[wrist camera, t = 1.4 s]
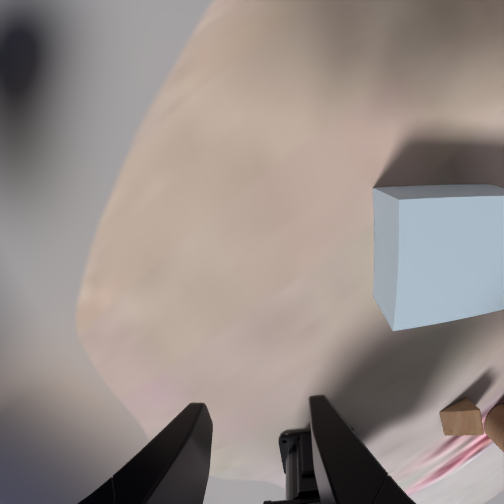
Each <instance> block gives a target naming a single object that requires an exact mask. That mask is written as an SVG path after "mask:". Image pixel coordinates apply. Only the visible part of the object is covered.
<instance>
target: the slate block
mask: <svg viewBox="0 0 504 504" xmlns="http://www.w3.org/2000/svg"><path fill="white" fill-rule="evenodd" d="M373 206H374V286H373V297H374V299H375V301H376V302H377V304H378V306H379V308H380V309H381V311H382V313H383V315H384V316H385V318H386V320H387V322H388V323H389V325H390V327H391V329H392V330H393V331H398V330H404V329H410V328H416V327H422V326H428V325H433V324H438V323H444V322H449V321H454V320H459V319H464V318H468V317H473V316H477V315H482V314H486V313H491V312H495V311H499V310H503V309H504V188H502V187H498V186H495V185H491V184H464V185H423V186H397V187H377V188H373Z"/></svg>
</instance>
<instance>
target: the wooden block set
mask: <svg viewBox="0 0 504 504" xmlns="http://www.w3.org/2000/svg"><path fill="white" fill-rule="evenodd" d="M439 413H440V417H441V421H442V426H443V430H444V435H483V434H484V433H483V426H482V419H481V413H480V409H479V408H478V407H476V406H475V405H474V404H473V403H472V402H471V401H469V400H468V399H467V398H465V399H463V400H461V401H459V402H457V403H455V404H454V405H452V406H450V407H448V408H446V409H444V410H442V411H440V412H439ZM484 430H485V433H486V435H487V436H488V437H489V438H490V439H491V440H492V441H493V442H494V443H495V444H496V445H497V446H498V447H499V448H500V449H501V450H502V451H503V452H504V403H503V404H499V405H497V406H495V407H494V408H493V409H492V410H491V411H490V412H489V413H488V415H487V417H486V420H485V423H484Z"/></svg>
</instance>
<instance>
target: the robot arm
mask: <svg viewBox="0 0 504 504" xmlns="http://www.w3.org/2000/svg"><path fill="white" fill-rule="evenodd" d="M309 410H310V423H311V432H310V433H301V434H290V435H282V436H280V437H279V447H280V452H281V458H282V463H283V469H284V473H285V474H286V500H284V501H264V503H263V504H416V503H415V502H414V501H413V500H412V499H411V498H409V497H408V495H407V494H406V493H405V492H404V491H403V490H402V489H401V488H400V487H399V486H398V485H397V483H396V482H395V481H394V480H393V479H392V477H391V476H388V473H387V472H386V470H385V469H384V468H383V467H382V466H381V464H380V463H379V462H378V461H377V460H376V458H375V457H374V456H373V455H372V454H371V452H370V451H369V450H368V449H367V447H366V446H365V445H364V444H363V443H362V441H361V440H360V439H359V438H358V436H357V435H356V434H355V433H354V430H353V428H351V427H350V426H349V425H348V424H347V423H346V421H345V420H344V419H343V418H342V416H341V415H340V414H339V413H338V411H337V410H336V409H335V408H334V406H333V405H332V404H331V403H330V401H329V400H328V399H327V398H326V396H325V395H314V396H310V397H309ZM212 432H213V424H212V420H211V417H210V414H209V412H208V409H207V406H206V405H205V403H190V404H189V405H188V406H187V407H186V408H185V409H184V410H183V411H182V412H181V413H179V414H178V415H177V416H176V417H175V418H174V419H173V420H172V421H171V422H170V423H169V424H168V425H167V426H166V427H165V428H164V429H163V430H162V431H161V432H160V433H159V434H158V435H157V436H156V437H155V438H153V439H152V440H151V441H150V442H149V443H148V444H147V445H146V446H145V447H144V448H143V449H142V450H141V451H140V452H139V453H137V454H136V455H135V456H134V457H133V458H132V459H131V460H130V461H129V462H127V463H126V464H125V465H124V466H123V467H122V468H121V469H120V470H119V471H117V472H116V473H115V474H114V475H113V478H112V477H111V478H110V479H108V480H107V481H106V482H105V483H104V484H103V485H101V486H100V487H99V488H98V489H97V490H95V491H94V492H93V493H92V494H90V495H89V496H87V497H86V498H85V499H83V500H82V501H80V502H79V503H78V504H203V500H204V495H205V490H206V486H207V481H208V476H209V469H210V457H211V444H212Z"/></svg>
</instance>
